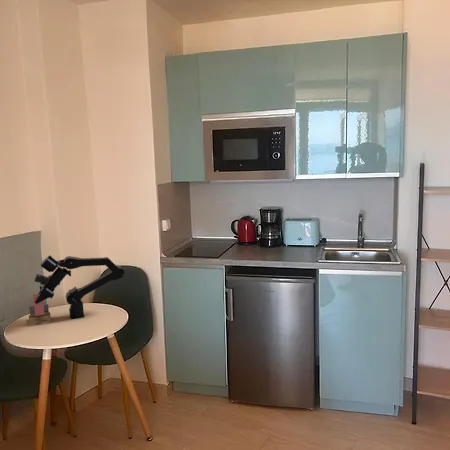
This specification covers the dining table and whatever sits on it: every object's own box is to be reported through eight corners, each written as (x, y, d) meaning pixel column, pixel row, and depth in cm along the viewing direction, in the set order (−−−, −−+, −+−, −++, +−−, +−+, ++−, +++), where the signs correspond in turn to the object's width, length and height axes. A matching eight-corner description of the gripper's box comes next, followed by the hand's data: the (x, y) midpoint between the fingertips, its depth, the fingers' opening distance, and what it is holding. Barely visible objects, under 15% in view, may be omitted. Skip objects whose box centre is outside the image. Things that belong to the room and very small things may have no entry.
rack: (50, 315, 245) (49, 303, 244) (51, 322, 234) (50, 309, 233) (29, 319, 241) (27, 306, 240) (29, 326, 230) (27, 312, 229)
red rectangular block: (44, 312, 237) (42, 293, 236) (44, 314, 234) (42, 295, 233) (34, 314, 236) (32, 295, 234) (35, 316, 232) (33, 296, 231)
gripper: (42, 264, 242) (22, 288, 239) (44, 272, 224) (21, 297, 222) (60, 277, 246) (40, 300, 243) (62, 285, 229) (41, 310, 226)
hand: (35, 302), depth 233 cm, fingers closed on red rectangular block, 3 cm apart
